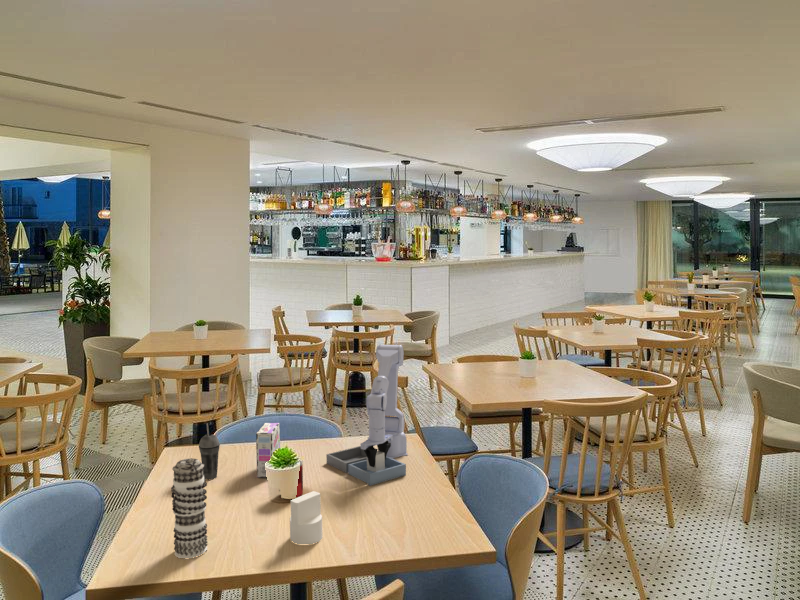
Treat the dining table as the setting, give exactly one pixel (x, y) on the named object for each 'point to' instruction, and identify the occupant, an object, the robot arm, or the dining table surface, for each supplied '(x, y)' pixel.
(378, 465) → the cream block
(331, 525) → the dining table surface
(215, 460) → the beverage cup
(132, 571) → the dining table surface
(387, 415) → the robot arm
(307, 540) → the cylinder with rectangular tab
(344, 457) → the grey bin
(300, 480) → the canned food
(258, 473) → the candy box
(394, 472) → the slate blue bin
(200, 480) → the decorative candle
